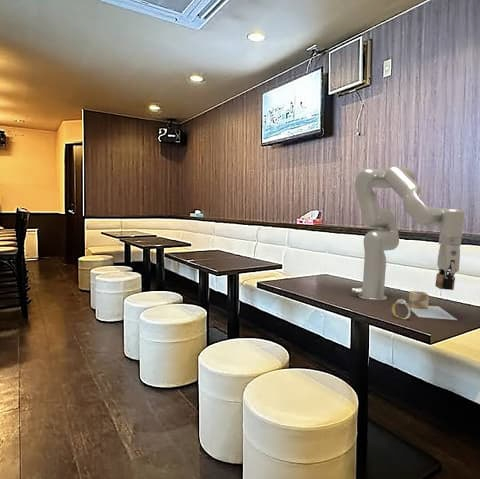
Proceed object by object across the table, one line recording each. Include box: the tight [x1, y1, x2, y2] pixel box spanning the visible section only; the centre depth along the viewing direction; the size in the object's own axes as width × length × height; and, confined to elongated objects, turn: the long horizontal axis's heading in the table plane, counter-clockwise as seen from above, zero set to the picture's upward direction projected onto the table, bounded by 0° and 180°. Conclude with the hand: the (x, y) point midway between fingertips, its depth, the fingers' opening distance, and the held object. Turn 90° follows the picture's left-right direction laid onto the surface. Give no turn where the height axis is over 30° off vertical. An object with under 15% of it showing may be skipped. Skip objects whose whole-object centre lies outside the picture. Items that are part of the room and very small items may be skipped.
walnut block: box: [435, 273, 456, 291], centre depth 153 cm, size 5×5×5 cm
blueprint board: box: [410, 305, 458, 321], centre depth 160 cm, size 14×21×1 cm
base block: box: [408, 290, 430, 309], centre depth 166 cm, size 6×6×6 cm
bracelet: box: [391, 298, 412, 320], centre depth 148 cm, size 7×3×8 cm, turn 37°
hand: (444, 286), depth 153 cm, fingers closed on walnut block, 5 cm apart
